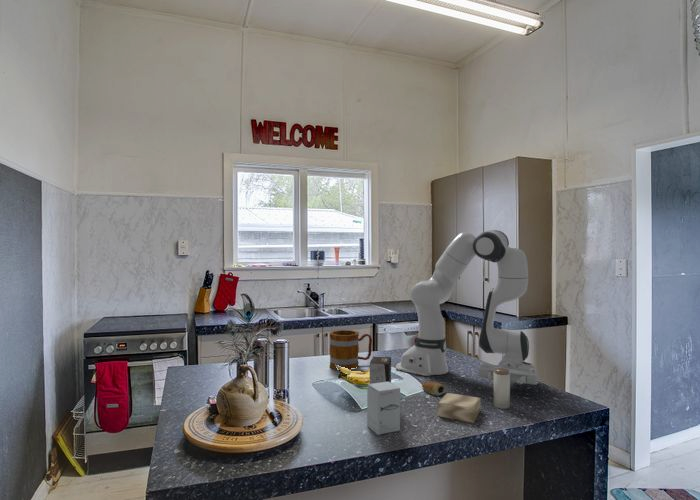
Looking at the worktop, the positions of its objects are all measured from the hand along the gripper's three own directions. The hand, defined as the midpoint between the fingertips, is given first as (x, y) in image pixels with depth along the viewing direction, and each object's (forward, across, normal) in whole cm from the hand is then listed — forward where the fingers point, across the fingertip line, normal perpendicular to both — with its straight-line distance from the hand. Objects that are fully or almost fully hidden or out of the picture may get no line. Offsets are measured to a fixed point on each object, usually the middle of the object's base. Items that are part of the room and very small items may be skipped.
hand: (504, 379), depth 148 cm
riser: (+19, -11, +7) cm, 23 cm away
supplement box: (+41, -28, +7) cm, 50 cm away
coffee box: (+27, -35, +7) cm, 45 cm away
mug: (-13, -67, +7) cm, 69 cm away
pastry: (+3, -24, +8) cm, 26 cm away
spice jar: (+6, 0, +7) cm, 9 cm away
